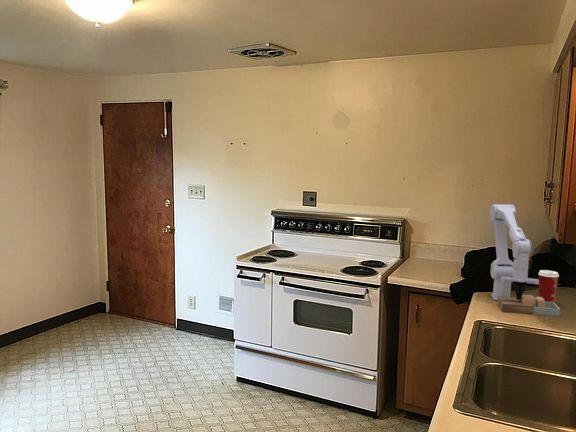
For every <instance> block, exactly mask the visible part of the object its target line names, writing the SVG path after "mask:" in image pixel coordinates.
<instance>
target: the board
mask: <svg viewBox="0 0 576 432" xmlns="http://www.w3.org/2000/svg"><path fill="white" fill-rule="evenodd" d="M497 306H498V307H499V309H500V310H501V312H503V313H511V314H520V315H521V314H523V315H534V314H533V310H534V306H533V305H532V304H525V303H522V302H521V301H520V300H517V299H516V297H511V296H510V297H499V296H498V300H497Z"/></svg>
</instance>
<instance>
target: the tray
mask: <svg viewBox="0 0 576 432" xmlns="http://www.w3.org/2000/svg"><path fill="white" fill-rule="evenodd" d="M532 305H533V306H534V310H533V315H539V316H549V317H561V312H562V310H561V308H560V307H559V306H558V305H557V304H556V303H555V301H554V302H545V308H541V307H536V300H535V304H532Z"/></svg>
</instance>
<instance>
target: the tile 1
mask: <svg viewBox="0 0 576 432" xmlns="http://www.w3.org/2000/svg"><path fill="white" fill-rule="evenodd" d="M520 301H521V302H522V303H525V304H535V301H536V296H534V295H532V294H530V295H529V294H522V297H521V300H520Z"/></svg>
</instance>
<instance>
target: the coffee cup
mask: <svg viewBox="0 0 576 432" xmlns="http://www.w3.org/2000/svg"><path fill="white" fill-rule="evenodd" d="M537 275H538V280H539V285H538V297H542V298H543V299H544V300H545V302H554V303H555V299H556V295H557V293H556V292H557V287H558V280H559V277H560V274H559V272H557V271H554V270H548V269H540V270H539V272H538V274H537Z"/></svg>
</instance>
